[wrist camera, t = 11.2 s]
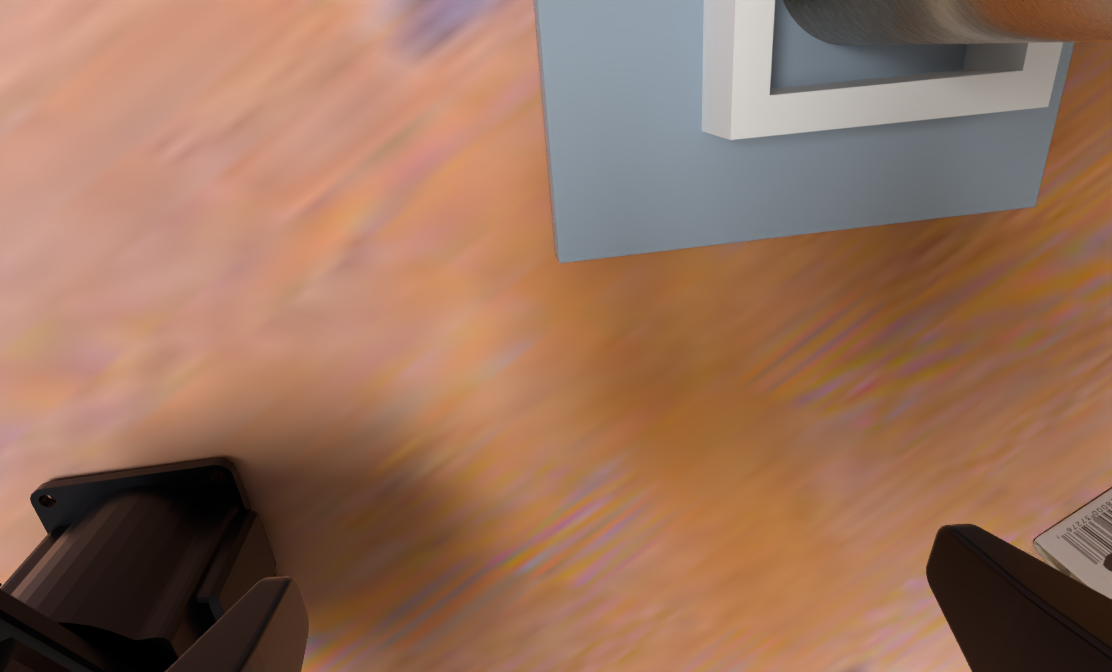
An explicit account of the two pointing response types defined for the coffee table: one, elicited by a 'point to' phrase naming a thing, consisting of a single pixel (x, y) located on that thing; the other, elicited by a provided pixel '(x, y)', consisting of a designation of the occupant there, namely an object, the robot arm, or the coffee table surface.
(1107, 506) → the cookie box
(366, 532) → the coffee table surface
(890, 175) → the collar plate
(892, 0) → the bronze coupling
